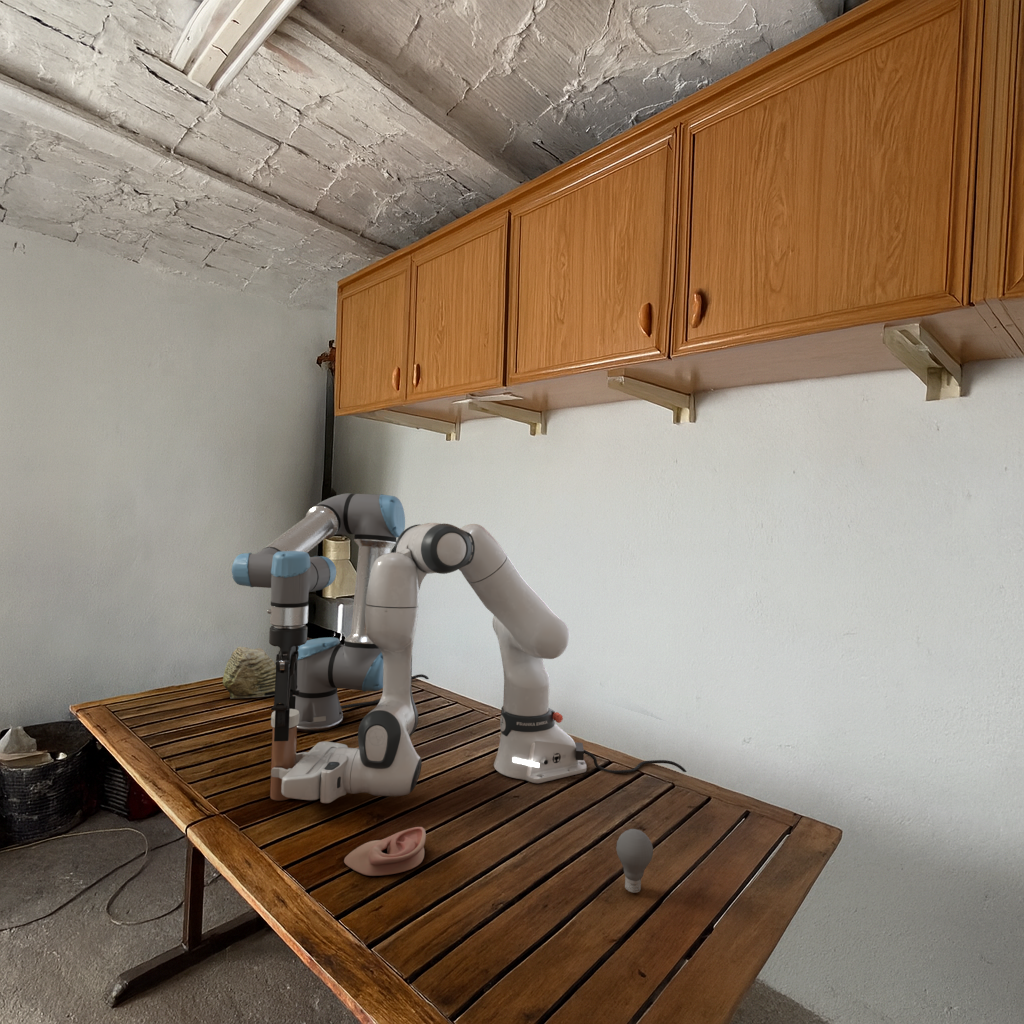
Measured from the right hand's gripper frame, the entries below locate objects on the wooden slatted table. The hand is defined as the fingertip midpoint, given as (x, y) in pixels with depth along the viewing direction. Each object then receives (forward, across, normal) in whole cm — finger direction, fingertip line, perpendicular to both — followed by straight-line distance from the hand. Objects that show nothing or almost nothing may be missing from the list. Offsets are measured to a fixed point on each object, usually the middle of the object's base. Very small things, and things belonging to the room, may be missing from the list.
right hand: (279, 764), depth 134 cm
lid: (-1, 0, -11) cm, 11 cm away
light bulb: (-72, +23, +6) cm, 75 cm away
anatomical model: (-29, +20, +6) cm, 35 cm away
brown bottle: (-1, 0, +6) cm, 6 cm away
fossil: (+36, -62, +6) cm, 72 cm away
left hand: (-1, 0, -7) cm, 7 cm away
